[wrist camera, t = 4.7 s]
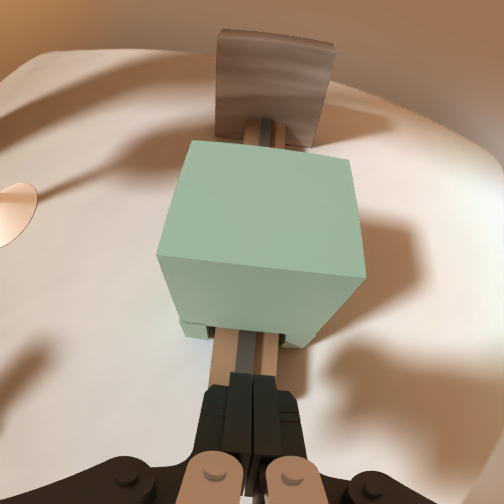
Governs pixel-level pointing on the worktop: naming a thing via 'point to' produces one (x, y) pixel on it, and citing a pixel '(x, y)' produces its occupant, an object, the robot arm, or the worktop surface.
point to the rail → (265, 141)
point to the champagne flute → (15, 210)
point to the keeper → (261, 241)
